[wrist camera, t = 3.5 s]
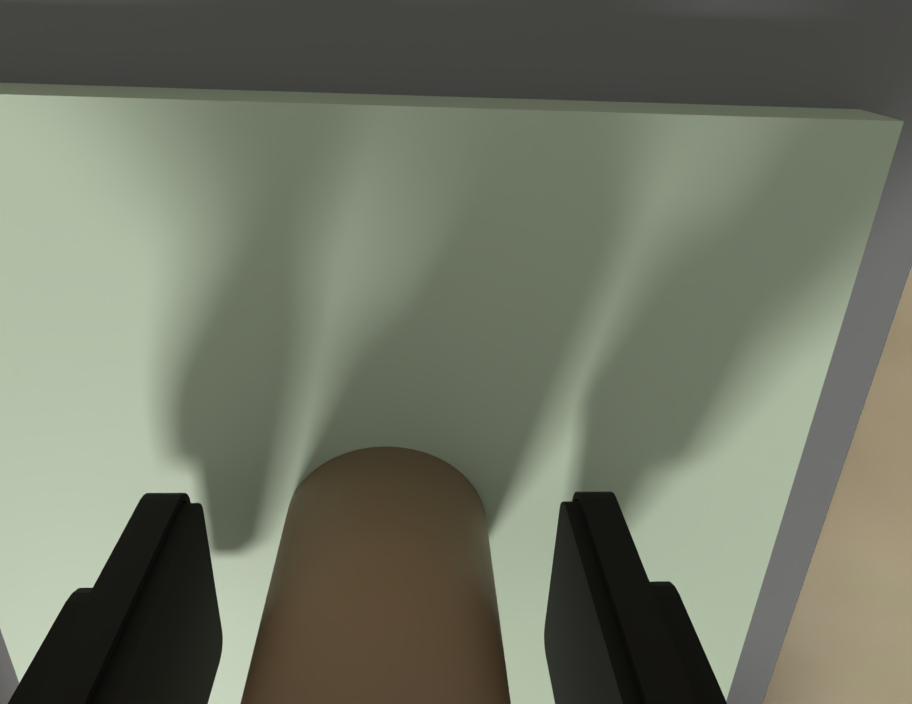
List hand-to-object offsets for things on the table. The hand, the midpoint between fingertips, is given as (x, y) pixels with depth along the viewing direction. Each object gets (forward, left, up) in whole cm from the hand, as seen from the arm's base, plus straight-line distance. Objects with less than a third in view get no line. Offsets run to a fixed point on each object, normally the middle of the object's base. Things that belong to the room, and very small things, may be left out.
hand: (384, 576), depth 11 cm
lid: (0, 0, -2) cm, 2 cm away
